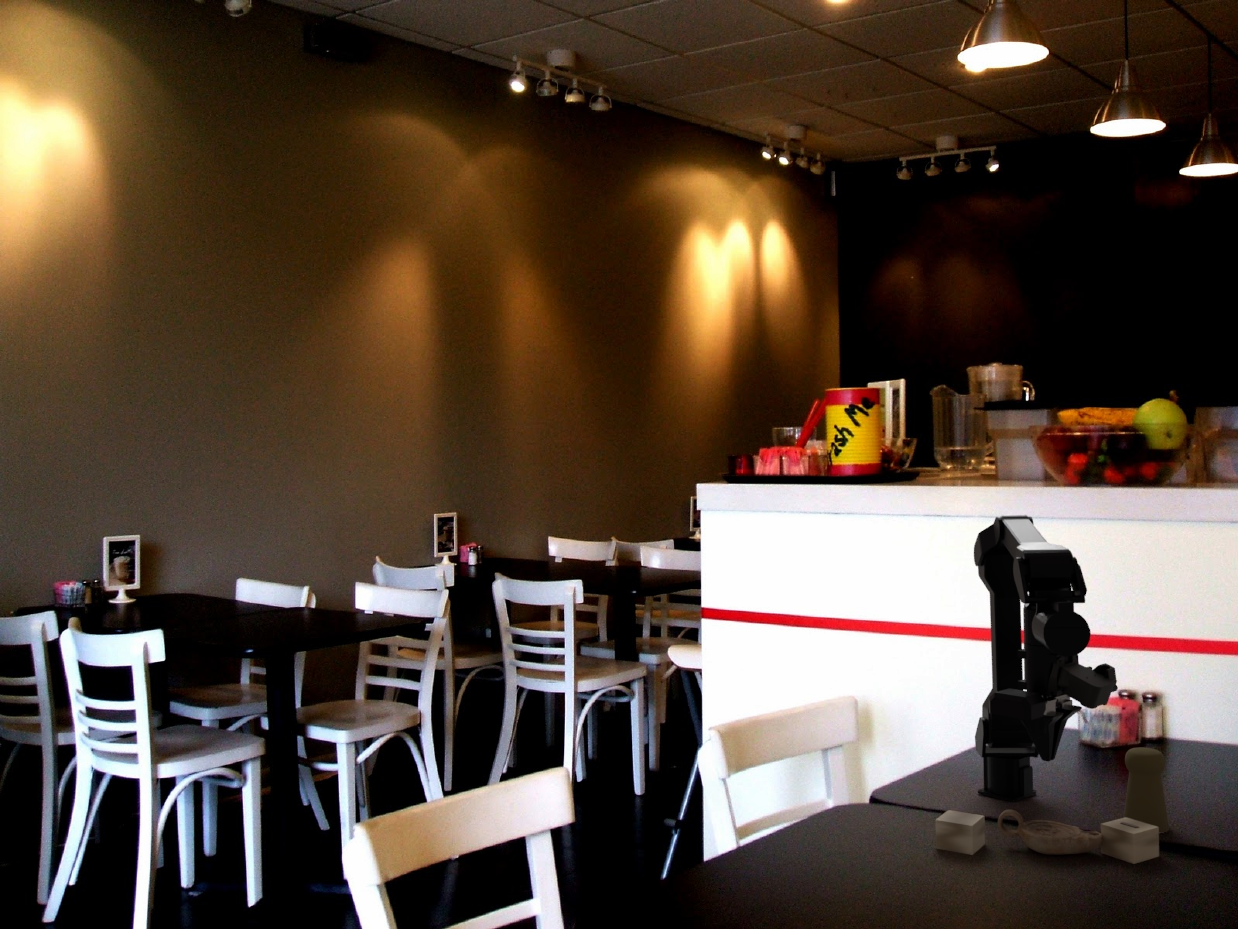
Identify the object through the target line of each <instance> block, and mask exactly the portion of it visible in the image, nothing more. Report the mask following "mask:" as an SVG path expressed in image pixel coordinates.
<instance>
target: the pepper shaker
mask: <svg viewBox="0 0 1238 929" xmlns="http://www.w3.org/2000/svg"><path fill="white" fill-rule="evenodd" d="M1124 764H1125V766H1126V770H1128V780H1127V787H1126V794H1125V803H1124V810H1123V817H1122V818H1125V817H1127V818H1130V819H1133V820H1137V821H1140V822H1143V823H1147V824H1150V825H1154V826H1157V827H1159V832H1166V833H1168V832H1169V831H1170V825H1169V818H1168V813H1167V805H1166V799H1165V798H1166V797H1165V793H1164V786H1163V779H1162V773H1163V772H1164V771H1165V769H1166V768H1165V767H1166V759H1165V756H1164V754H1163V753H1162V752H1161V751H1159V750H1158V749H1155V748H1150V747H1141V746H1140V747H1133V748H1129V749H1128V750H1127V751H1126V753H1125V757H1124ZM1168 830H1169V831H1168ZM1167 831H1168V832H1167Z"/></svg>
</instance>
